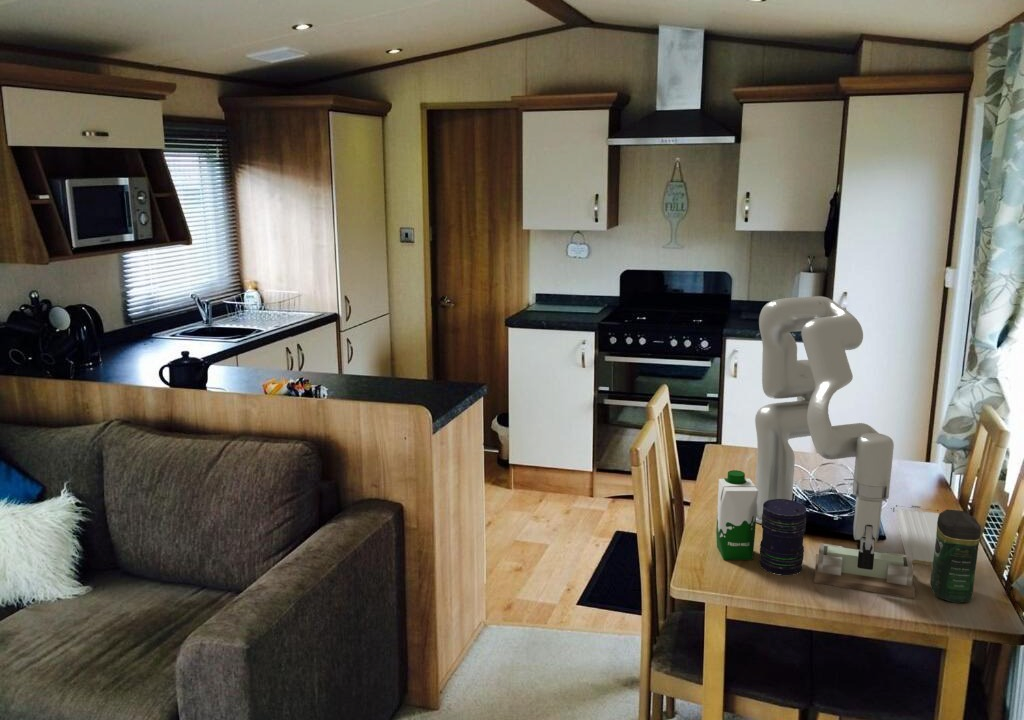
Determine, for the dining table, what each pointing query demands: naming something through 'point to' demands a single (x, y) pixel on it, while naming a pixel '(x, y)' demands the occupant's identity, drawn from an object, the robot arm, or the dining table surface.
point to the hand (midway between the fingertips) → (864, 558)
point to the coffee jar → (955, 556)
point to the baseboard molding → (918, 534)
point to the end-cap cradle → (895, 583)
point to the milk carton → (736, 516)
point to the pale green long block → (851, 567)
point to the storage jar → (782, 536)
